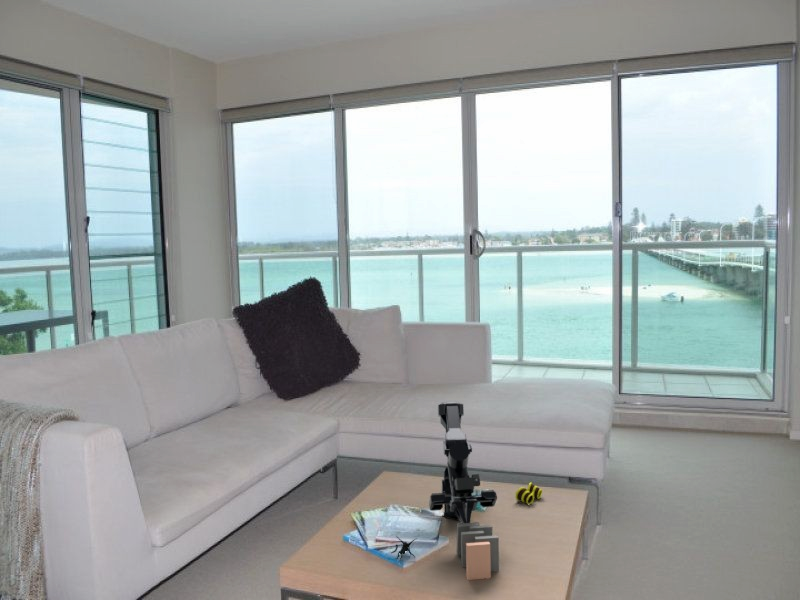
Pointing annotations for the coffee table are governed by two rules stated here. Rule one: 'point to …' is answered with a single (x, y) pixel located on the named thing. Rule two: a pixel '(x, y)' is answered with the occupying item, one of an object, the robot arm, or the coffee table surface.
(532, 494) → the opera glasses
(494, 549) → the domino
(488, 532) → the domino
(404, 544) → the creature
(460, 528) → the domino
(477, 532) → the domino
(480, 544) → the end domino
